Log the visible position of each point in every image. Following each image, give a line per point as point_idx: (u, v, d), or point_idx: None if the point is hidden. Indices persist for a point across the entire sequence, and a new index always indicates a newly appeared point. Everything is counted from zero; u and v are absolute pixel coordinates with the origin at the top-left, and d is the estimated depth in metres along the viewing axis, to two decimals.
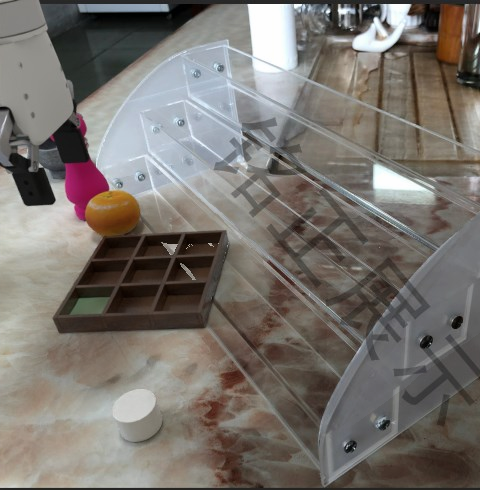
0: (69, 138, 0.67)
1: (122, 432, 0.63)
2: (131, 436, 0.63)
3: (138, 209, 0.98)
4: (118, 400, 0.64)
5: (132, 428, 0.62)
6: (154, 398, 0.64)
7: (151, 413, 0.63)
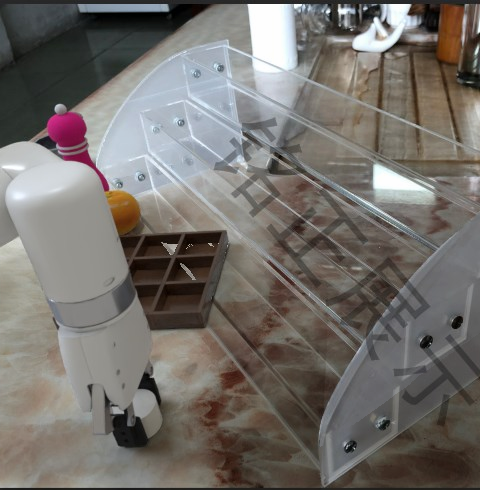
0: (142, 388, 0.65)
1: None
2: None
3: (138, 209, 0.98)
4: None
5: None
6: (154, 398, 0.64)
7: (151, 413, 0.63)
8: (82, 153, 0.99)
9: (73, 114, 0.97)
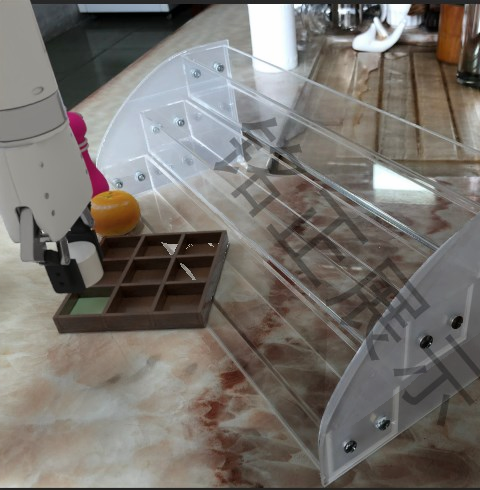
0: (83, 240, 0.64)
1: None
2: None
3: (138, 209, 0.98)
4: None
5: None
6: (94, 248, 0.63)
7: (90, 260, 0.62)
8: (82, 153, 0.99)
9: (73, 114, 0.97)
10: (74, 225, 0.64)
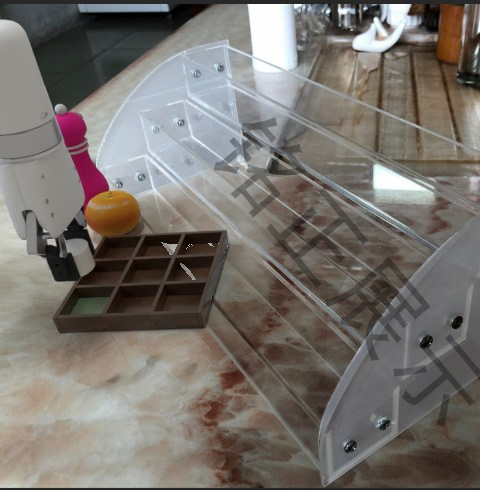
0: (77, 237, 0.77)
1: None
2: None
3: (138, 209, 0.98)
4: None
5: None
6: (86, 243, 0.76)
7: (83, 253, 0.75)
8: (82, 153, 0.99)
9: (73, 114, 0.97)
10: (70, 225, 0.77)
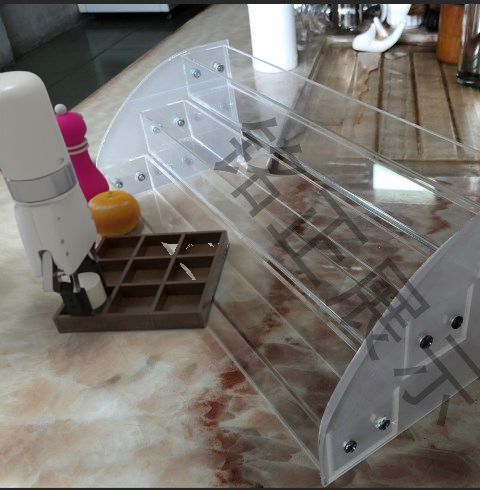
0: (89, 271, 0.80)
1: None
2: None
3: (138, 209, 0.98)
4: (69, 279, 0.79)
5: None
6: (98, 277, 0.79)
7: (95, 288, 0.78)
8: (82, 153, 0.99)
9: (73, 114, 0.97)
10: (82, 260, 0.80)
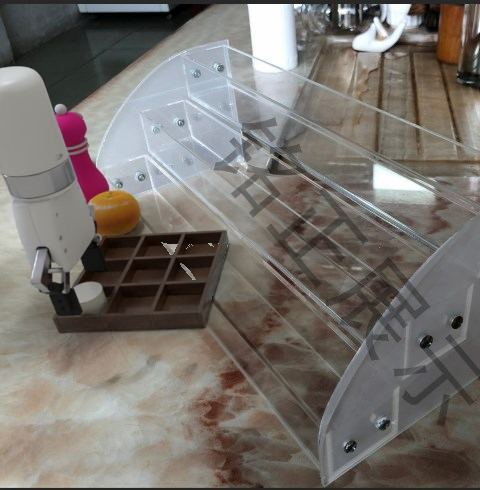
0: (91, 253, 0.81)
1: None
2: None
3: (138, 209, 0.98)
4: None
5: (82, 308, 0.78)
6: (101, 287, 0.80)
7: (98, 297, 0.79)
8: (82, 153, 0.99)
9: (73, 114, 0.97)
10: None
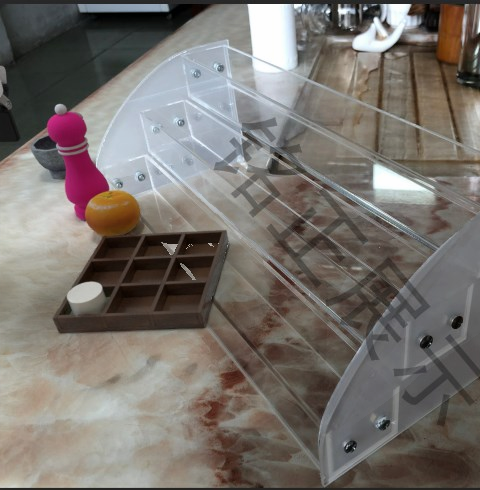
0: (0, 119, 0.74)
1: (74, 313, 0.79)
2: None
3: (138, 209, 0.98)
4: (72, 289, 0.80)
5: (82, 308, 0.78)
6: (101, 287, 0.80)
7: (98, 297, 0.79)
8: (82, 153, 0.99)
9: (73, 114, 0.97)
10: None
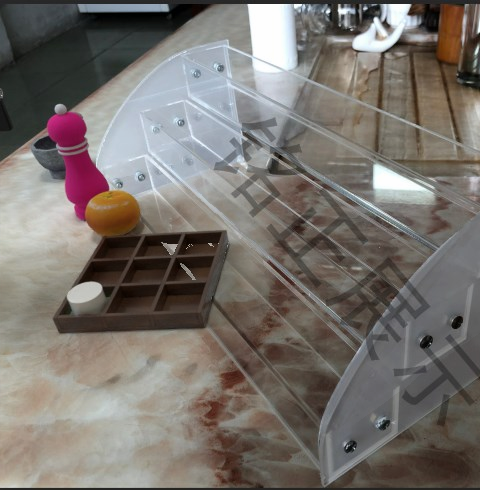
0: None
1: (74, 313, 0.79)
2: None
3: (138, 209, 0.98)
4: (72, 289, 0.80)
5: (82, 308, 0.78)
6: (101, 287, 0.80)
7: (98, 297, 0.79)
8: (82, 153, 0.99)
9: (73, 114, 0.97)
10: None
